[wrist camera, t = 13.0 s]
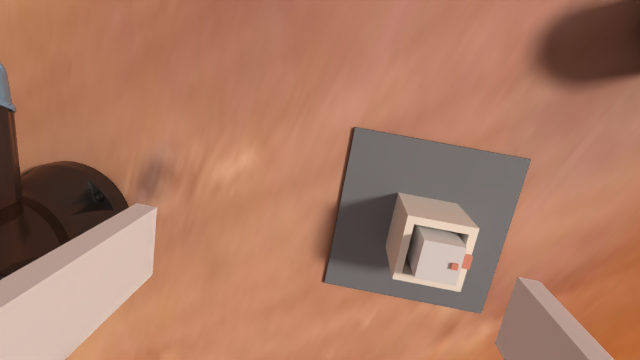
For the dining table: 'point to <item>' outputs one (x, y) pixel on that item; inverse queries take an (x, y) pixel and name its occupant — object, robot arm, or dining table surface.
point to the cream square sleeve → (427, 215)
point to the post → (426, 243)
